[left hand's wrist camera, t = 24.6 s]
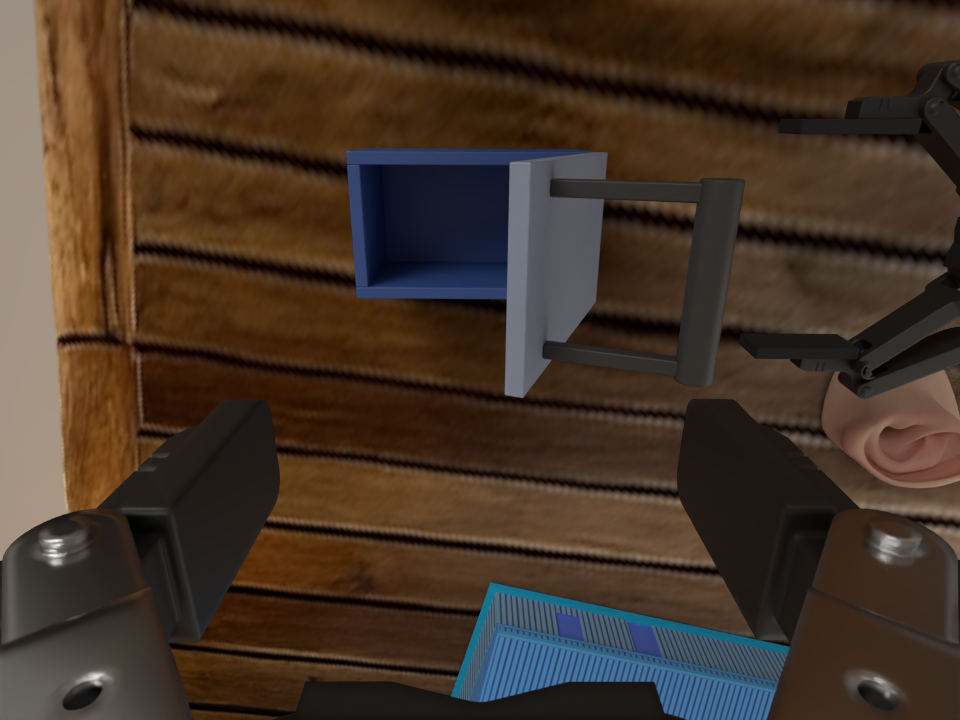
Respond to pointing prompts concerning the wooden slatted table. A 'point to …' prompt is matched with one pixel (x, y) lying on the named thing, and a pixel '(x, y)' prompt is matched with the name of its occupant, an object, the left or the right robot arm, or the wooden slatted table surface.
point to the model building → (615, 656)
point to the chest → (433, 220)
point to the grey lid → (575, 261)
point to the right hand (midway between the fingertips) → (766, 244)
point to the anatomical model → (899, 431)
